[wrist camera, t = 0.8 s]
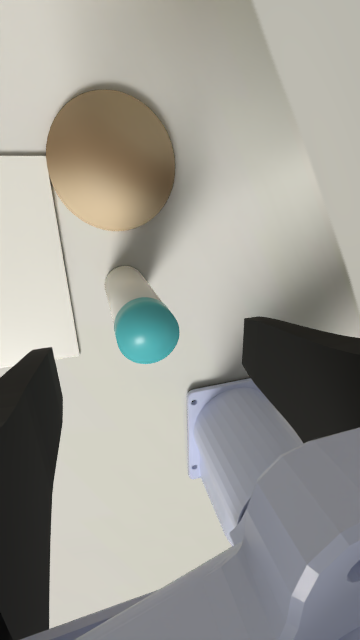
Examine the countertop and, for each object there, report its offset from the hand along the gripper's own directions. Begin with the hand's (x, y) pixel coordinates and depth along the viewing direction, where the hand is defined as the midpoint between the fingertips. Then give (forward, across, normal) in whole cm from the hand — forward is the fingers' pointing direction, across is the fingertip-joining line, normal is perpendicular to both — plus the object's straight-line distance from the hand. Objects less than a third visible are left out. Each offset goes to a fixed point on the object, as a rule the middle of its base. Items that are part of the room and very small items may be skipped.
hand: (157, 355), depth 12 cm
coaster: (+10, 0, -7) cm, 12 cm away
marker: (+10, 0, 0) cm, 10 cm away
